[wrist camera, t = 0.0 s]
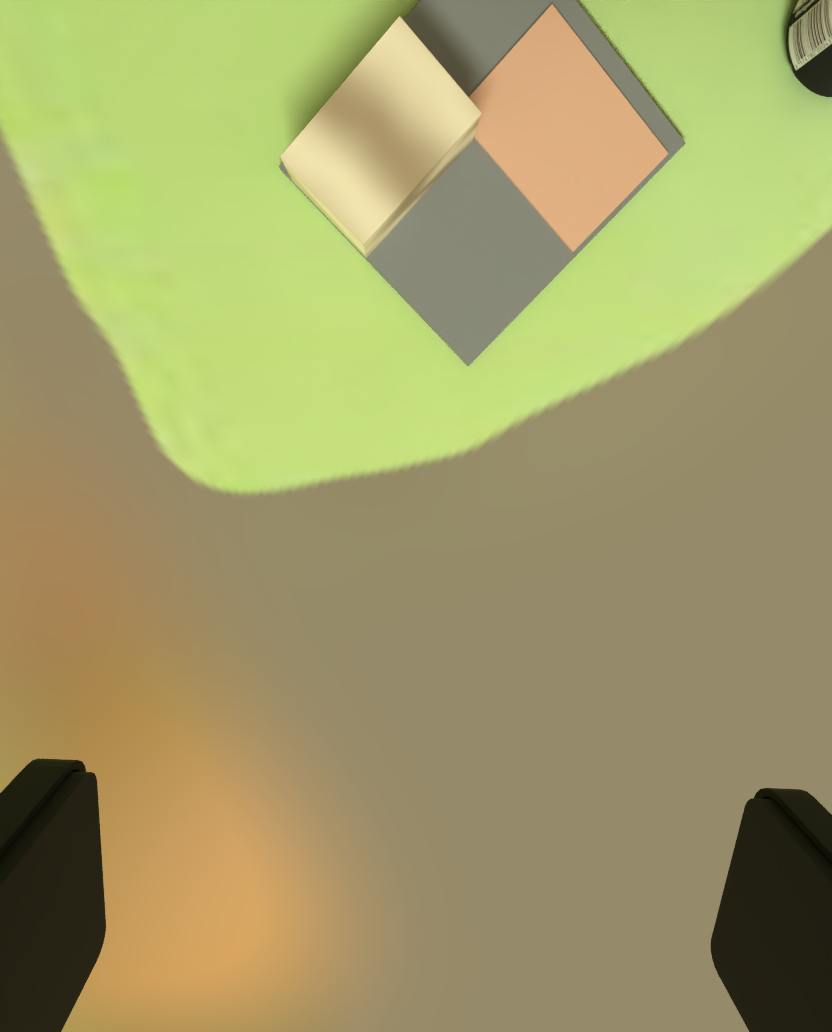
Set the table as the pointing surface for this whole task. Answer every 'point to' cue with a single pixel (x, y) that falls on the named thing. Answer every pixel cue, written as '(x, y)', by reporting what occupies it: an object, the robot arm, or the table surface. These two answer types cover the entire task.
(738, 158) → the table surface
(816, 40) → the beverage can
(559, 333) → the table surface
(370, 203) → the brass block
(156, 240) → the table surface
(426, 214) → the rubber mat
